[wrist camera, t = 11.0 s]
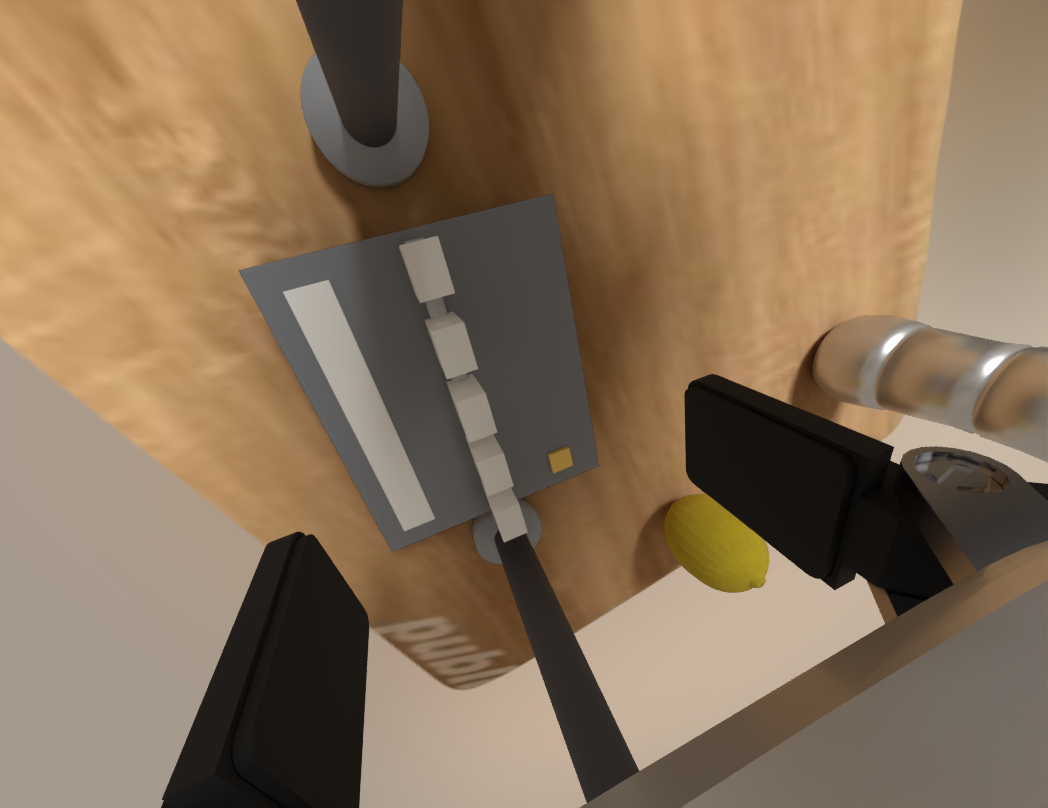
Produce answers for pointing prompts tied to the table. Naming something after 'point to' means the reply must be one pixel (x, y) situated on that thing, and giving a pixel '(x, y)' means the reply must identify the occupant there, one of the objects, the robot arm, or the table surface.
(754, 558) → the lemon
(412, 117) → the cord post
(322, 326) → the breaker panel
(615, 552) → the table surface
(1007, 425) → the plastic bottle
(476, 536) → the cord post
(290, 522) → the table surface
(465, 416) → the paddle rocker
